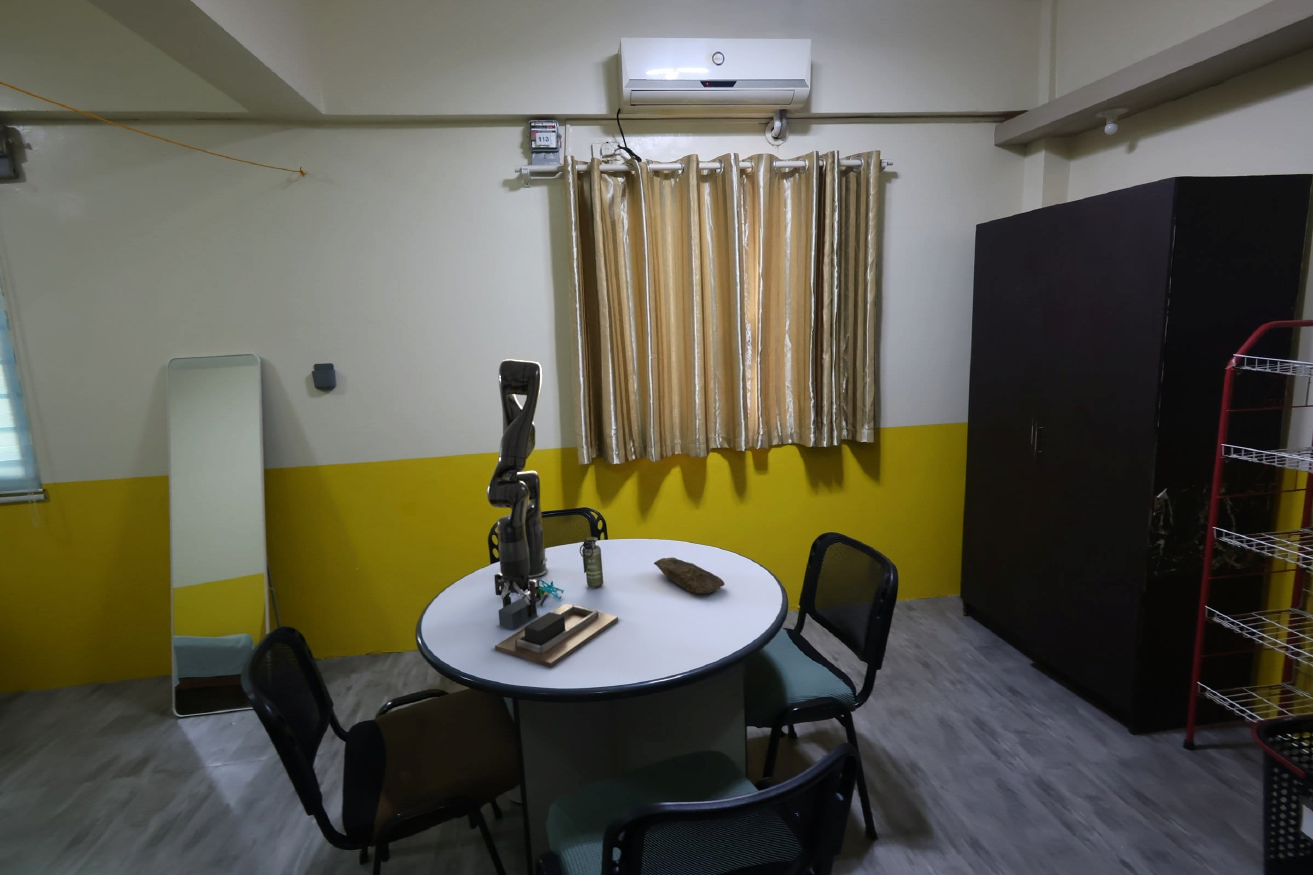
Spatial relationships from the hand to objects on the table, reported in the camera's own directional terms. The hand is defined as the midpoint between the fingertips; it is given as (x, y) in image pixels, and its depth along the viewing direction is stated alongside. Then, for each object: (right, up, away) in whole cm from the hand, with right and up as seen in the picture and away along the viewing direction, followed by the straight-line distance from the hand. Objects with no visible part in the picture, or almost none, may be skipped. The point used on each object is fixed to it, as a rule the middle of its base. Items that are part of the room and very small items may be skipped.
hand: (519, 613), depth 163 cm
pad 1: (0, -2, +1) cm, 2 cm away
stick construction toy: (+4, 0, +13) cm, 14 cm away
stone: (+45, +3, +20) cm, 49 cm away
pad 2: (+9, -3, -12) cm, 15 cm away
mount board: (+12, -3, -8) cm, 15 cm away
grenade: (+17, +2, +21) cm, 27 cm away
